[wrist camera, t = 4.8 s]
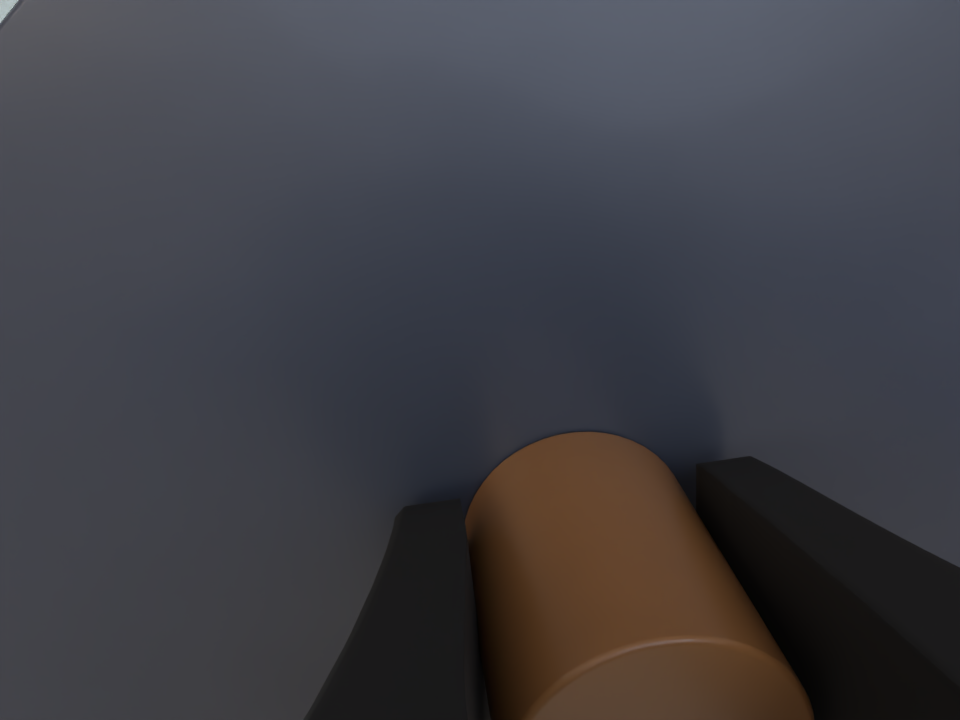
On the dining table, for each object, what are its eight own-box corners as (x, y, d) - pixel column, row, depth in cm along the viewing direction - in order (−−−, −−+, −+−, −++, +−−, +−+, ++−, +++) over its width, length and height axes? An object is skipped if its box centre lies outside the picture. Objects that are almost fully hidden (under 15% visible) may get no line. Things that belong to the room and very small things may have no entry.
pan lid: (1361, 300, 11) (1916, 477, 7) (648, 992, 15) (747, 1357, 11) (347, -681, 7) (305, -1697, 3) (-288, 668, 11) (-691, 1083, 7)
